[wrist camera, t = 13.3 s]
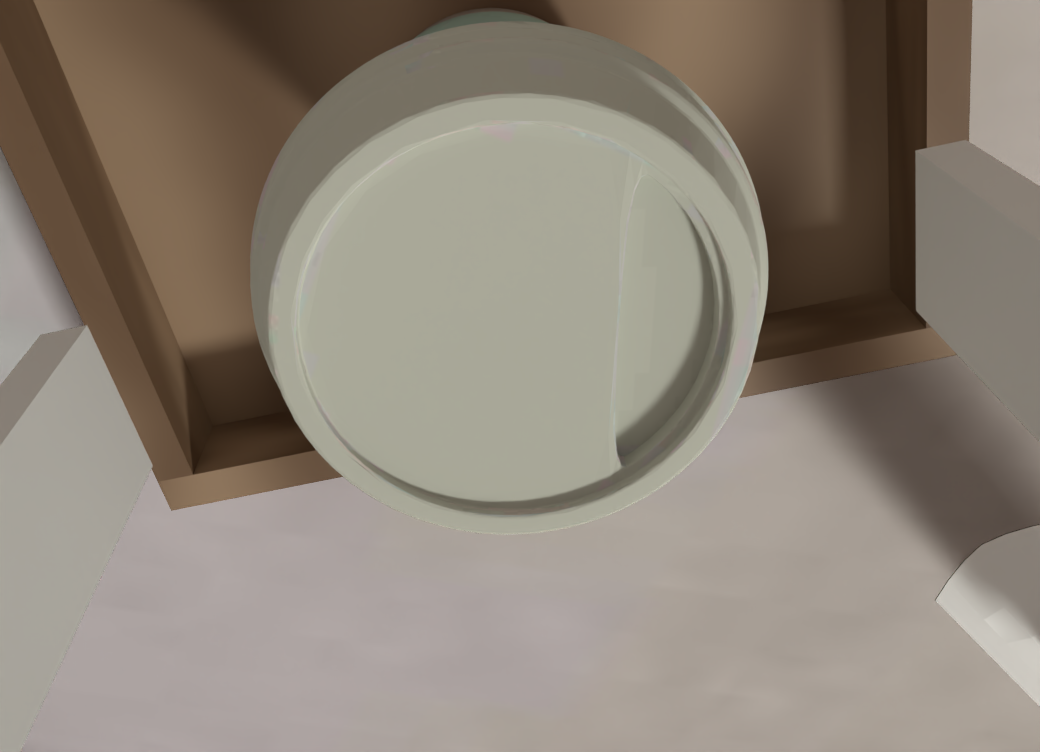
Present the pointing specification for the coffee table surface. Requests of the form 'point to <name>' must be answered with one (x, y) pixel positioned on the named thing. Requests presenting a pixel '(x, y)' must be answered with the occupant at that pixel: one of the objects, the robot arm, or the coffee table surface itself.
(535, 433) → the coffee cup
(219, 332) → the walnut tray
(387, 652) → the coffee table surface
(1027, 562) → the heart sculpture
